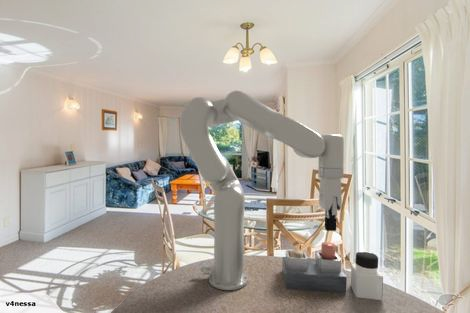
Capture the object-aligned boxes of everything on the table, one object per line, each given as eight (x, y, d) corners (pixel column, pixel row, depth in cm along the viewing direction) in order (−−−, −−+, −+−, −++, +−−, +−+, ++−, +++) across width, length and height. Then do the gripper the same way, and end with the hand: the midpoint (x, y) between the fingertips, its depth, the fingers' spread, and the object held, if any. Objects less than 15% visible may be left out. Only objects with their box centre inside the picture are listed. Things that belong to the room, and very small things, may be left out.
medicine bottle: (382, 301, 75) (384, 259, 75) (355, 297, 77) (357, 257, 76) (374, 287, 82) (375, 250, 82) (350, 285, 84) (351, 248, 83)
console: (285, 289, 81) (285, 261, 80) (282, 270, 93) (282, 246, 92) (346, 293, 79) (346, 264, 79) (335, 273, 91) (335, 249, 91)
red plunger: (322, 258, 83) (323, 246, 83) (320, 253, 87) (320, 241, 87) (336, 259, 83) (337, 247, 83) (333, 254, 87) (333, 242, 87)
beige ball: (290, 266, 84) (290, 254, 84) (289, 261, 88) (289, 249, 88) (304, 267, 84) (304, 255, 84) (301, 261, 88) (302, 249, 88)
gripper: (314, 171, 92) (313, 223, 93) (324, 175, 77) (323, 237, 78) (336, 171, 91) (335, 223, 92) (350, 175, 76) (350, 238, 77)
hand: (330, 229), depth 85 cm, fingers closed
